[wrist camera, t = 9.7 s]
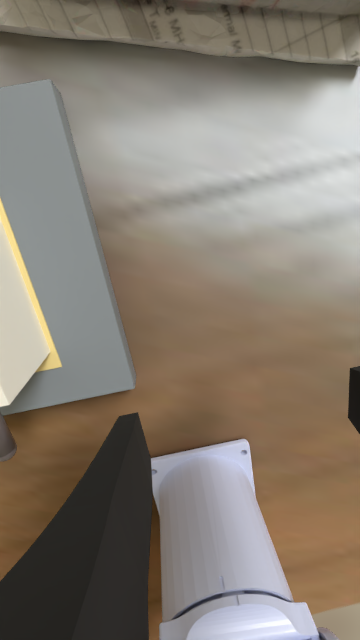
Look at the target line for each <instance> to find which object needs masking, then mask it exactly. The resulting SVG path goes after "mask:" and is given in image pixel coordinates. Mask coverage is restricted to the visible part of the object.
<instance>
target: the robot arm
mask: <svg viewBox="0 0 360 640" xmlns="http://www.w3.org/2000/svg"><path fill="white" fill-rule="evenodd" d="M348 418H349V420H350V421H351V422H352V424H353V425H354V427H355V428H356V430H357V431H358V432H359V434H360V366H358V367H354V368H350V380H349V408H348ZM242 450H244V451H242ZM153 469H155V470H153ZM153 495H154V499H155V502H156V505H157V509H158V512H159V516H160V544H161V584H162V623H160V624H159V640H339V639H338V638H337V636H335V634H334V633H333V632H331V631H330V630H328V629H327V628H323V627H319V628H316V626H315V623H314V621H313V619H312V616H311V614H310V611H309V609H308V606H307V604H306V603H305V602H298V603H297V602H294V600H293V597H292V594H291V592H290V589H289V586H288V584H287V581H286V578H285V576H284V573H283V570H282V568H281V565H280V562H279V559H278V557H277V554H276V551H275V549H274V546H273V543H272V541H271V538H270V535H269V533H268V530H267V527H266V524H265V522H264V519H263V516H262V514H261V511H260V508H259V506H258V503H257V500H256V497H255V488H254V480H253V471H252V463H251V455H250V446H249V443H248V441H247V440H245V439H240V440H235V441H230V442H226V443H221V444H216V445H211V446H207V447H202V448H197V449H193V450H188V451H183V452H179V453H174V454H169V455H164V456H160V457H155V458H150V454H149V451H148V447H147V444H146V440H145V437H144V433H143V429H142V426H141V422H140V419H139V415H138V412H137V413H133V414H128V415H123V416H119V418H118V419H117V421H116V422H115V424H114V426H113V428H112V429H111V431H110V433H109V435H108V436H107V438H106V440H105V441H104V443H103V445H102V447H101V448H100V450H99V452H98V453H97V455H96V456H95V458H94V460H93V461H92V463H91V464H90V466H89V468H88V469H87V471H86V472H85V474H84V476H83V477H82V479H81V480H80V481H79V483H78V484H77V486H76V487H75V489H74V490H73V492H72V493H71V495H70V496H69V497H68V499H67V500H66V502H65V503H64V505H63V506H62V507H61V509H60V510H59V511H58V513H57V514H56V515H55V517H54V518H53V519H52V521H51V522H50V523H49V525H48V526H47V527H46V528H45V530H44V531H43V532H42V534H41V535H40V536H39V537H38V539H37V540H36V541H35V542H34V544H33V545H32V546H31V547H30V548H29V549H28V551H27V552H26V553H25V554H24V555H23V556H22V558H21V559H20V560H19V561H18V562H17V563H16V564H15V565H14V567H13V568H12V569H11V570H10V571H9V572H8V573H7V575H6V576H5V577H4V578H3V579H2V580H1V581H0V640H149V630H148V571H149V553H150V535H151V516H152V496H153Z"/></svg>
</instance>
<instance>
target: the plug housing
mask: <svg viewBox="0 0 360 640" xmlns="http://www.w3.org/2000/svg"><path fill="white" fill-rule="evenodd" d="M50 352H51V351H50V349H49V346H48V343H47V341H46V338H45V335H44V333H43V330H42V328H41V325H40V322H39V320H38V317H37V314H36V312H35V309H34V306H33V304H32V301H31V298H30V296H29V293H28V290H27V288H26V285H25V282H24V280H23V277H22V274H21V272H20V269H19V266H18V264H17V261H16V258H15V256H14V253H13V250H12V248H11V245H10V242H9V240H8V237H7V234H6V232H5V229H4V226H3V224H2V221H1V218H0V407H2V406H7V405H10V404H11V402H12V401H13V400H14V399H15V397H16V396H17V395H18V393H19V392H20V391H21V389H22V388H23V387H24V386H25V384H26V383H27V382H28V380H29V379H30V378H31V377H32V375H33V374H34V373H35V371H36V370H37V369H38V367H39V366H40V365H41V364H42V362H43V361H44V360H45V358H46V357H47V356H48V354H49V353H50ZM16 450H17V445H16V443H15V440H14V438H13V436H12V434H11V432H10V430H9V428H8V426H7V424H6V422H5V420H4V418H3V416H2V414H1V412H0V461H7V460H9V459H11V458H12V457H13V456H14V455H15V453H16Z"/></svg>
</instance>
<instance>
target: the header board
mask: <svg viewBox="0 0 360 640" xmlns="http://www.w3.org/2000/svg"><path fill="white" fill-rule="evenodd" d="M0 218H1V221H2V224H3V226H4V229H5V232H6V234H7V237H8V240H9V242H10V245H11V248H12V250H13V253H14V256H15V258H16V261H17V264H18V266H19V269H20V272H21V274H22V277H23V280H24V282H25V285H26V288H27V290H28V293H29V296H30V298H31V301H32V304H33V306H34V309H35V312H36V314H37V317H38V320H39V322H40V325H41V328H42V330H43V333H44V335H45V338H46V341H47V343H48V346H49V349H50V351H51V352H50V353H49V354H48V356H47V357H46V358H45V360H44V361H43V362H42V364H41V365H40V366H39V367H38V369H37V370H36V371H35V373H34V374H33V375H32V377H31V378H30V379H29V380H28V382H27V383H26V384H25V386H24V387H23V388H22V389H21V391H20V392H19V393H18V395H17V396H16V397H15V399H14V400H13V401H12V402H11V404H10V405H7V406H2V407H0V412H1V414H2V416H3V415H8V414H13V413H18V412H23V411H28V410H32V409H37V408H42V407H47V406H52V405H57V404H62V403H66V402H71V401H76V400H81V399H86V398H91V397H96V396H100V395H105V394H110V393H115V392H120V391H125V390H130V389H134V388H135V383H136V373H135V370H134V366H133V362H132V359H131V355H130V351H129V347H128V344H127V340H126V336H125V332H124V329H123V325H122V321H121V317H120V314H119V310H118V306H117V303H116V299H115V295H114V291H113V288H112V284H111V280H110V276H109V273H108V269H107V265H106V261H105V258H104V254H103V250H102V247H101V243H100V239H99V235H98V232H97V228H96V224H95V220H94V217H93V213H92V209H91V205H90V202H89V198H88V194H87V190H86V187H85V183H84V179H83V176H82V172H81V168H80V164H79V161H78V157H77V153H76V149H75V146H74V142H73V138H72V134H71V131H70V127H69V123H68V120H67V116H66V112H65V108H64V105H63V101H62V97H61V93H60V92H59V91H58V89H57V88H56V86H55V85H54V84H53V82H52V81H51V80H50V79H46V80H41V81H35V82H29V83H23V84H18V85H12V86H6V87H1V88H0Z"/></svg>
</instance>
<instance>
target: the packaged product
mask: <svg viewBox="0 0 360 640" xmlns="http://www.w3.org/2000/svg"><path fill="white" fill-rule="evenodd" d="M0 31H4V32H11V33H18V34H24V35H31V36H41V37H54V38H66V39H78V40H106V41H114V42H121V43H129V44H137V45H144V46H152V47H159V48H167V49H179V50H186V51H191V52H196V53H201V54H207V55H214V56H224V55H226V56H227V57H252V56H263V57H268V58H274V59H281V60H288V61H295V62H305V63H319V64H337V65H356V66H360V0H0Z"/></svg>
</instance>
